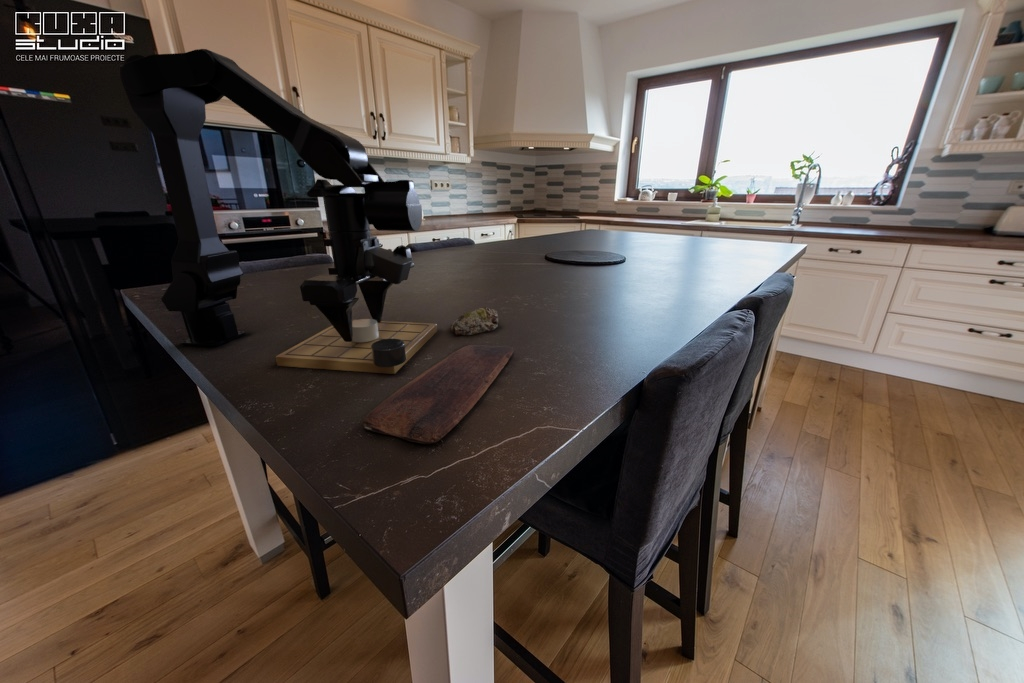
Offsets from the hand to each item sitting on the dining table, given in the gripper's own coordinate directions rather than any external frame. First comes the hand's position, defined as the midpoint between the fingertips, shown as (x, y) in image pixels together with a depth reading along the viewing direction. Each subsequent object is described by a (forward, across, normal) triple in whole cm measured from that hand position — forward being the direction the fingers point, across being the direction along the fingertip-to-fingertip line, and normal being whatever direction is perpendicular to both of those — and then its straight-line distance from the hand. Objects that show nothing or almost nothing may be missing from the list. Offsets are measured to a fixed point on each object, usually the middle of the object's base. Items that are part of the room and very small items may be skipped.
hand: (364, 331), depth 63 cm
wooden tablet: (+3, -11, -18) cm, 21 cm away
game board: (+3, 0, 0) cm, 3 cm away
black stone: (+1, -8, -8) cm, 11 cm away
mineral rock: (+3, +12, -15) cm, 19 cm away
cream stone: (+1, 0, 0) cm, 1 cm away
